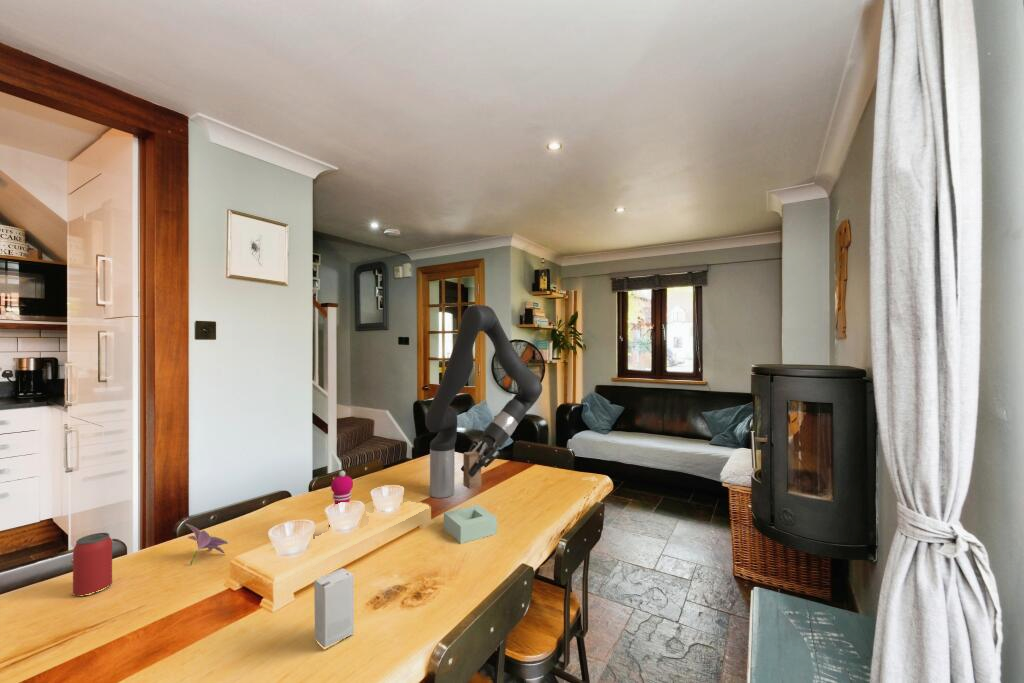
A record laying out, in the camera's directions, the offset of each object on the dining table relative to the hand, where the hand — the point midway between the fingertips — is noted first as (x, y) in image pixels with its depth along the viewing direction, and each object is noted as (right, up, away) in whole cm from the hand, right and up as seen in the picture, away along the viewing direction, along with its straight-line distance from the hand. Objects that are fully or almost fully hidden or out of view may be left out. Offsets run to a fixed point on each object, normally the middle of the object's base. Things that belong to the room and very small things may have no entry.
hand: (466, 473), depth 131 cm
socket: (+1, -18, 0) cm, 18 cm away
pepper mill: (-36, -18, -5) cm, 40 cm away
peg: (+2, -4, +1) cm, 5 cm away
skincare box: (-21, -18, -48) cm, 55 cm away
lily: (-68, -18, -16) cm, 72 cm away
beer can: (-83, -18, -31) cm, 91 cm away
